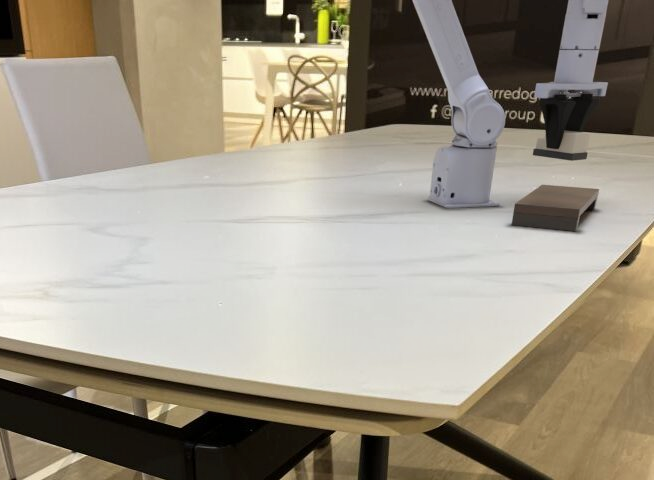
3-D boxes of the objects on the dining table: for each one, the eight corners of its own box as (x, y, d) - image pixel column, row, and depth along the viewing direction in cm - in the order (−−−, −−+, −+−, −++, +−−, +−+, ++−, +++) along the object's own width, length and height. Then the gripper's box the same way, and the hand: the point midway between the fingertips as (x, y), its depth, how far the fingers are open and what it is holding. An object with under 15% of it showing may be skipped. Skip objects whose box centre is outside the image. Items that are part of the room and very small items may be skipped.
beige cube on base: (586, 159, 119) (591, 133, 117) (571, 160, 117) (576, 134, 115) (547, 154, 125) (551, 128, 123) (532, 155, 123) (536, 129, 121)
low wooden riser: (575, 231, 105) (579, 209, 103) (511, 225, 109) (514, 203, 107) (595, 208, 120) (599, 188, 119) (538, 203, 124) (541, 184, 122)
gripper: (588, 50, 119) (570, 142, 127) (526, 49, 113) (510, 147, 120) (626, 50, 114) (605, 147, 121) (563, 49, 108) (545, 152, 115)
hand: (560, 147), depth 120 cm, fingers closed on beige cube on base, 3 cm apart
